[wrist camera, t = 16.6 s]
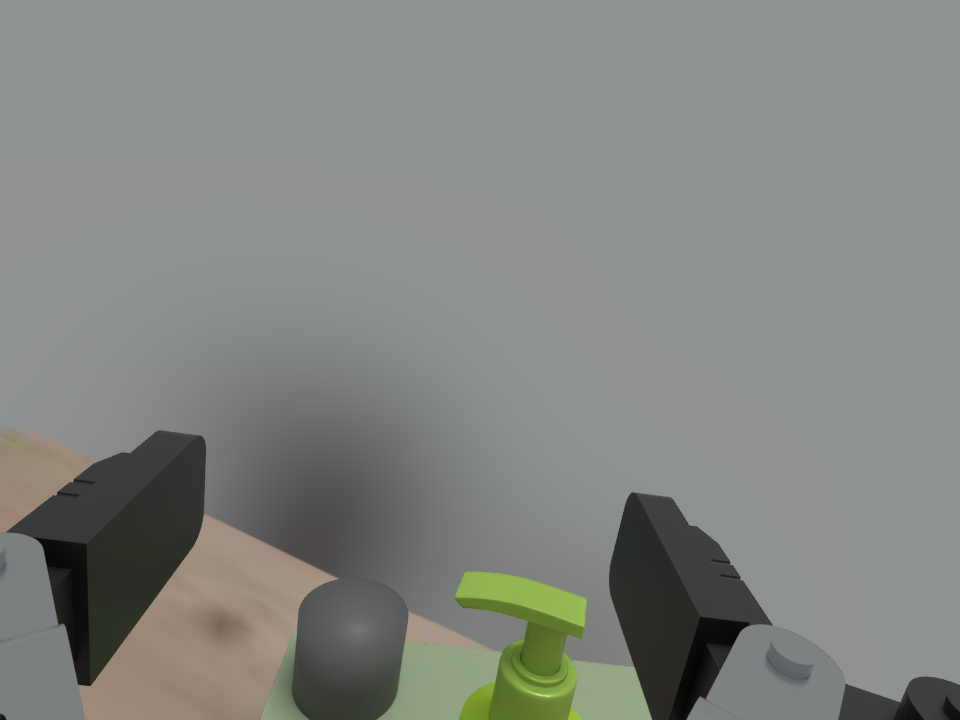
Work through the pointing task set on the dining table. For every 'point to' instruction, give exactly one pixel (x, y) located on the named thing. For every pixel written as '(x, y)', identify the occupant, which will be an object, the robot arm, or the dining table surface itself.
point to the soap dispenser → (526, 649)
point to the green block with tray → (405, 666)
